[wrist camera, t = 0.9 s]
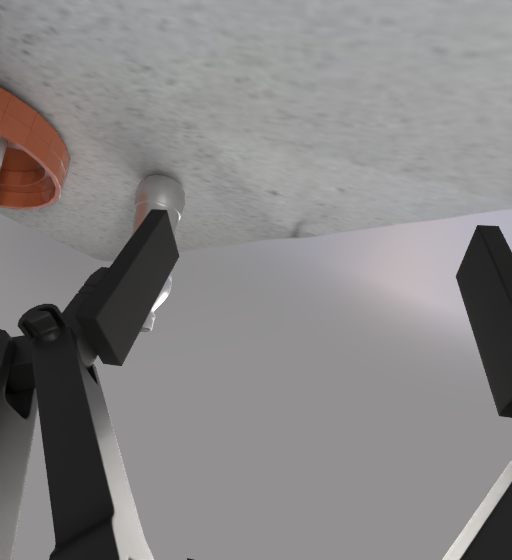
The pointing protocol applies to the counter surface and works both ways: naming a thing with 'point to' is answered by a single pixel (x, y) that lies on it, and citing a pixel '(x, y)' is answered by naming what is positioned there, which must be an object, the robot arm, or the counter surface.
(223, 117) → the counter surface
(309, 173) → the counter surface
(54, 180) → the bowl
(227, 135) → the counter surface
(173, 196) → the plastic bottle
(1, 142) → the coffee cup
